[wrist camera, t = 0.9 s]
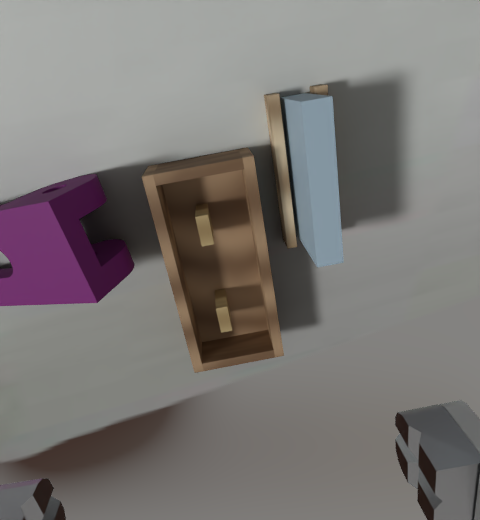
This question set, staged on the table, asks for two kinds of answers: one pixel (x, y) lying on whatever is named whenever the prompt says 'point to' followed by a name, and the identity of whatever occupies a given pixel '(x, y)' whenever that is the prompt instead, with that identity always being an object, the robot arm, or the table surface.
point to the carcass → (216, 256)
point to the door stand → (283, 162)
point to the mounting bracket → (58, 247)
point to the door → (314, 174)
